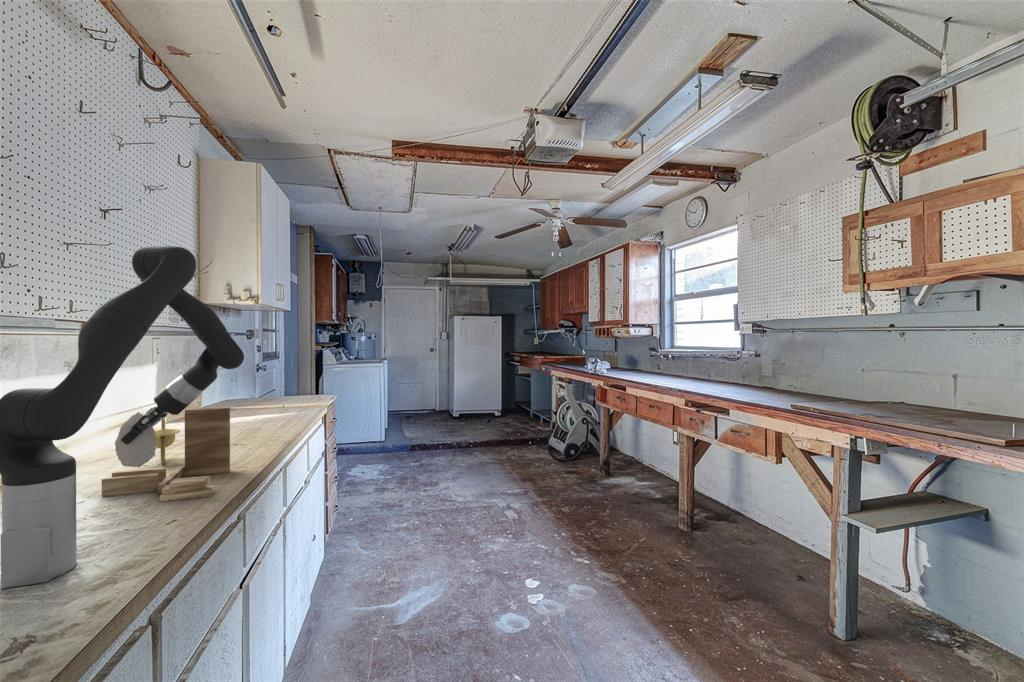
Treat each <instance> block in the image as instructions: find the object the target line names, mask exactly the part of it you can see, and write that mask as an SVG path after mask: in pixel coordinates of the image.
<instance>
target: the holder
mask: <svg viewBox="0 0 1024 682" xmlns="http://www.w3.org/2000/svg"><path fill="white" fill-rule="evenodd" d="M166 477H167V467H156V468H144V469H143V468H142V469H134V470H132V469H131V470H121V471H120V470H119V471H113V472H111V477H103V478H101V497H110V496H111V497H112V496H120V495H121V496H122V495H130V494H139V493H141V494H143V493H152V492H151V491H153V492H158V484H159V483H160V482H162V481H163V480H164V479H165V478H166ZM142 492H143V493H142Z"/></svg>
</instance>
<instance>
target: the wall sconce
mask: <svg viewBox="0 0 1024 682" xmlns="http://www.w3.org/2000/svg"><path fill="white" fill-rule="evenodd" d="M164 388H165V387H160V392H161V391H162V390H163V389H164ZM160 423H161V428H159V429H157V430H154V431H155V438H156V443H157V445H156V449H157V448H158V449H160V464H161V465H163V464H165V462H166V448H168V447H170V446H171V445H173V444H174V442H175V440H176V434H178V433H180V432H181V430H180V429H177V428H176V429H175V428H174V429H173V428H166V417H165V418H164V419H163V420H161V421H160Z"/></svg>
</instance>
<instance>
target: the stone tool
mask: <svg viewBox="0 0 1024 682" xmlns="http://www.w3.org/2000/svg"><path fill="white" fill-rule="evenodd" d="M144 415H145V414H143V413H141V412H140V411H137V412H136V413H135V414H132V415H131V417H129V418H128V419H127V420H126V421H124V423H122V425H121V426H120V428H119V431H118V434H117V437H116V439H115V441H114V446H115V449H114V450H115V452H116V453H115V454H116V456H117V458H118V460H119V461H120V464H121V465H122V466H123V467H131V468H132V467H133V468H140V467H141V466H143V465H145V464H147V463H148V462H150V460H152V459H153V458H154V457H156V451H157V447H156V445H157V443H156V438H155V431H156V430H155V428H154V426H153V427H151V428H149V429H146V430H145V431H143V432H142V434H140V435H138V436H137V437H136V438H135V439H134V440H133V441H132V442H131V443H129V444H125V443H123V442H122V441H121V438H123V437H124V436H125V435H126V434H127V433H128V432H130V431H131V430H132V429H131V428H132V426H134V425H135V424H136V423H137V422H138V420H139V419H140V418H142V416H144ZM149 425H151V424H149ZM138 428H140V427H138ZM140 429H141V428H140Z"/></svg>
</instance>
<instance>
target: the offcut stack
mask: <svg viewBox="0 0 1024 682" xmlns="http://www.w3.org/2000/svg"><path fill="white" fill-rule="evenodd" d="M210 482H211V475H205V476H190V477H183V478H178V479H174V480H173V481H171V482H170V483H169V485H165V487H164V488H163V489H162V495H160V496H159V502H160V501H163V502H169V501H168V500H172V501H179V500H178V499H182V500H186V499H185V498H191V499H196V498H195V497H201V498H204V497H203V496H210V495H211V494H212V493H213V494H214V492H215V491H214V490H215V489H216V488H215V487H216V486H215V485H208V484H209V483H210ZM213 491H214V492H213ZM213 494H212V495H213ZM212 495H211V496H212ZM211 496H210V497H211Z"/></svg>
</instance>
